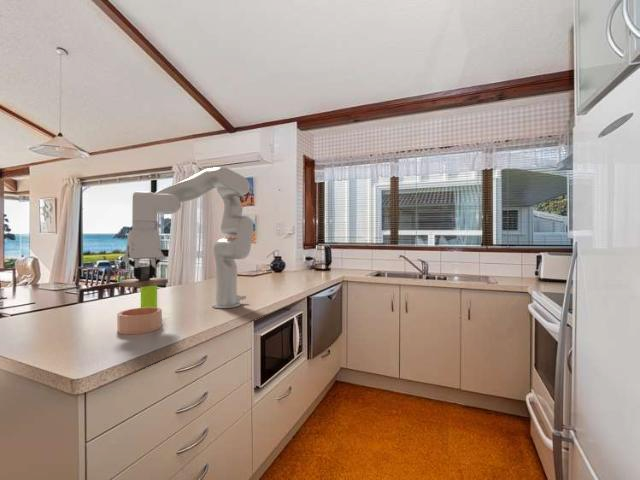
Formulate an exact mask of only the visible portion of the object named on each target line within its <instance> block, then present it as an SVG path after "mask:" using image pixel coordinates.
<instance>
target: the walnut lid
mask: <svg viewBox="0 0 640 480" xmlns="http://www.w3.org/2000/svg"><path fill="white" fill-rule="evenodd" d="M139 268H140V279H135V278H130V279H129V278H128V279H122V280H119V281H118V287H122V288H123V287H124V288H141V287H146V286H157V287H158V286H161V285H162V286H163V285H167V284H168V283H169V282H168V281H169V279H168V278H164V277H154V278H150V266H149V265H139Z"/></svg>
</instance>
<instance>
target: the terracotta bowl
mask: <svg viewBox="0 0 640 480" xmlns="http://www.w3.org/2000/svg"><path fill="white" fill-rule="evenodd" d="M162 314H163V312H162V308H159V307H157V308H155V307H144V308H141V307H135V308H131V309H126V310H125V309H124V310H121V311H120V312H118V313H117V314H116V315H117V316H116V318H117V319H116V320H117V321H116V322H117V328H116V329H117V333H119V334H120V335H141V334H146V333H150V332H154V331H156V330H159V329H160V328H161V327H162V326H163V324H162V323H163V319H162V317H163V316H162Z"/></svg>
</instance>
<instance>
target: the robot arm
mask: <svg viewBox="0 0 640 480" xmlns="http://www.w3.org/2000/svg"><path fill="white" fill-rule="evenodd" d="M214 189H216V191H217V192H218V194H219V196H220V198H221V199H222V202H223V206H224V207H223V214H222V220H221V224H220V225H221V226H220V231H221V233H222V234H223V235H224V236H227V238H226V237H225V238H220V239H218V240H216V242H214V245H213V256H214V259H215V260H214V261H215V301H214V302H213V303H212V304H211V306H212V308H213V309H232V308H233V309H234V308H236V307H239V306H241V301H242V300H243V301H244V300H247V295H246V294H245V295H239V294H238V267H237V263H236V261H235V260H245V259H246V258H247V257H248V256H249V255H250V251H251V248H252V247H251V246H252V242H253V235H254V229H255V228H254V223H253V220H252V218H250V217H249V216H246V215H243V204H242V202H241V200H240V198H239V196H244V195H247V194H248V193H249V192H250V189H251V185H250V182H249V180H248V179H247V177H245V176H243V175H241V174H240V173H238V172H235V171H233V170H232V169H230V168H227V167H223V166H218V167H213V168H212V167H211V168H206V169H203V170H201V171H200V172H198V173H196V174H194V175H192V176H190V177H189V178H187V179H184V180H182V181H180V182H177V183H174V184H172V185H169V186H167V187H164V188H161V189H160V190H158V191H155V192H151V191H145V190H144V191H138V190H137V191H135V192H133V194H132V207H131V208H132V209H131V210H132V212H131V214H132V217H131V218H132V222H131V223H132V224H131V226H132V229H130V230H129V231H128V235H127V242H126V251H125V253H124V255H123V256H122V258H121V260H122V261H124V262H125V263H127V264H129V265H130V266H132V268H133V277H134V279H140V268H139V266H140V260H142V259H143V260H144V259H146V260H147V259H148V261H149V265H148V266H150V278H153V276H155V268H154V267H157V265H158V264H159V263H160V262H162V261H164V260H165V259H166V257H165V254H164V253H163V251H162V245H161V244H162V243H161V238H160V237H161V235H160V232H159V230H158V229H159V228H161V227H162V224H160V223H158V221H157V219H158V218H157V217H158V215H173V214H175V213H177V212H179V211H180V209H181V207H182V204H181V203H183V202H189V201H192V200H195V199H198V198H200V197H202V196H203V195H206V194H207V193H209V192H210V191H212V190H214ZM228 237H229V238H228ZM230 237H233V238H230ZM234 237H235V238H234Z"/></svg>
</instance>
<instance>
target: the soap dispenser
mask: <svg viewBox="0 0 640 480" xmlns="http://www.w3.org/2000/svg"><path fill="white" fill-rule="evenodd" d="M157 267H158V266H155V267H154V269H157ZM154 276H155V275H154ZM154 276H153V278H155V277H154ZM144 307H155V308H158V285H157V286H146V287H140V308H144Z"/></svg>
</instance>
